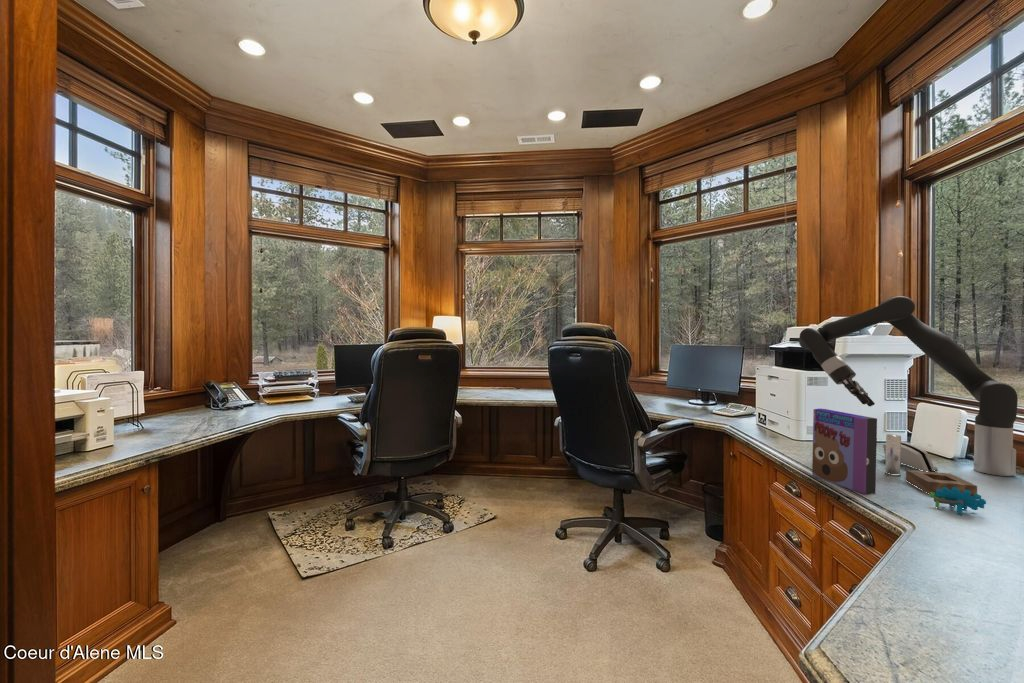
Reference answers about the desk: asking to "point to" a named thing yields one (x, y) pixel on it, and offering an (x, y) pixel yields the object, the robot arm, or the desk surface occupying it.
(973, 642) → the desk surface
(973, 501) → the toy stegosaurus
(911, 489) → the desk surface
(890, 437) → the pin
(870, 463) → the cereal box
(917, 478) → the socket block
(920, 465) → the grey curved block
